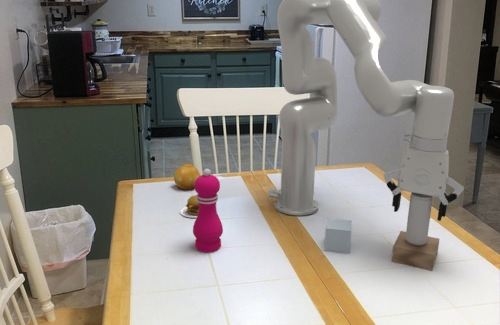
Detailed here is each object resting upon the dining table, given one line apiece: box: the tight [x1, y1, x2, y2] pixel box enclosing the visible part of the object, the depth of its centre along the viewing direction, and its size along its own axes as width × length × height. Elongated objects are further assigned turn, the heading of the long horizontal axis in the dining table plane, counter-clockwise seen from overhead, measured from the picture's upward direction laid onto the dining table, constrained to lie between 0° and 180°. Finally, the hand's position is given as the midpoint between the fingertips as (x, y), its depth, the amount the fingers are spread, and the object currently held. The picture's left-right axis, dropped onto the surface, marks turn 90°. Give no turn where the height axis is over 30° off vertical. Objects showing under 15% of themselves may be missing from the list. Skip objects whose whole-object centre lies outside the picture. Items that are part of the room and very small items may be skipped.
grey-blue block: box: [323, 217, 352, 254], centre depth 125 cm, size 6×6×6 cm
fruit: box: [173, 162, 201, 190], centre depth 162 cm, size 8×8×8 cm
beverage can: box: [405, 192, 433, 246], centre depth 117 cm, size 5×5×12 cm
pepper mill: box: [192, 168, 224, 253], centre depth 122 cm, size 7×7×20 cm
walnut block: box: [391, 230, 440, 272], centre depth 120 cm, size 9×9×4 cm
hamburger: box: [179, 194, 199, 219], centre depth 144 cm, size 12×12×6 cm
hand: (417, 214), depth 118 cm, fingers open, 9 cm apart
